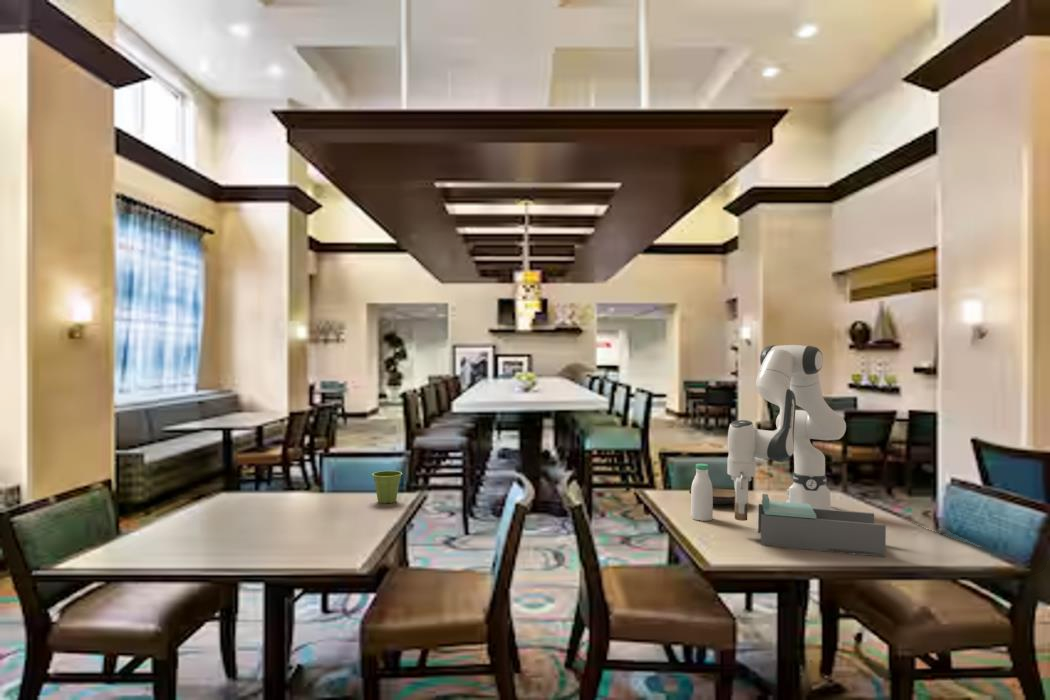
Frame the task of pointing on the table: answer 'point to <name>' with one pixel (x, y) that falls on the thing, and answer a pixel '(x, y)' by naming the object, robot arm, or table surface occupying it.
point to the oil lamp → (722, 496)
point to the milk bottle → (702, 494)
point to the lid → (787, 508)
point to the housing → (824, 531)
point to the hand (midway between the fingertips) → (741, 511)
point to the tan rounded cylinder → (738, 515)
